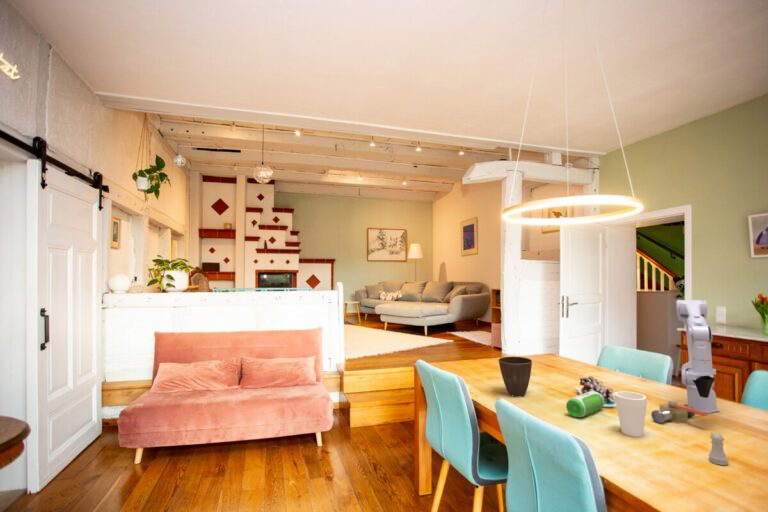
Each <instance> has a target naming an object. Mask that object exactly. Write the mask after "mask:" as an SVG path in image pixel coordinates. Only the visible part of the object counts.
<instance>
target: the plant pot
mask: <svg viewBox="0 0 768 512" xmlns="http://www.w3.org/2000/svg"><path fill="white" fill-rule="evenodd" d="M498 364H499V369H500V374H501V377H502V380H503V384H504V386H505V388H506V389H505V390H506V391H507V394H508V395H509V394H510V395H509V396H511V395H513V396H512V397H514V396H522V397H525V396H526V393H527V390H528V387H529V384H530V380H531V375H532V365H533V361H532V359H530V358H528V357H523V356H521V357H520V356H505V357H499V358H498ZM524 395H525V396H524Z"/></svg>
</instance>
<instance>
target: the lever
mask: <svg viewBox="0 0 768 512" xmlns="http://www.w3.org/2000/svg"><path fill="white" fill-rule="evenodd" d="M667 402H668V403H667V404H668V405H669V406H671V407H676V408H680V409H683V410H686V411H689V412H693V413H694V414H695V415H697V416H698V415H699V416H700V417H701V416H702V417H706V416H708V413H707V412H704V411H701V410H696V409H693V408H689V407H686V406H683V405H684V404H683V405H682V404H679V403H677V402H676V401H667Z"/></svg>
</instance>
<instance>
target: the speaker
mask: <svg viewBox="0 0 768 512" xmlns="http://www.w3.org/2000/svg"><path fill="white" fill-rule="evenodd" d="M605 402H606V401H605V398H604V396H603V395H602V394H601V393H600V392H598V391H594V390H589V391H587V392H584V393H581V394H578V395H577V396H573V397H571V398H569V399H568V400H567V402H566V404H565V405H566V406H565V407H566V411H567V412H568V414H569V415H571V416H572V417H573V418H574V417H575V418H583V417H587V416H590V415H593V414H594V412H595V413H596V412H597V411H599V410H602V408H603V407H604V406H605Z"/></svg>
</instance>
